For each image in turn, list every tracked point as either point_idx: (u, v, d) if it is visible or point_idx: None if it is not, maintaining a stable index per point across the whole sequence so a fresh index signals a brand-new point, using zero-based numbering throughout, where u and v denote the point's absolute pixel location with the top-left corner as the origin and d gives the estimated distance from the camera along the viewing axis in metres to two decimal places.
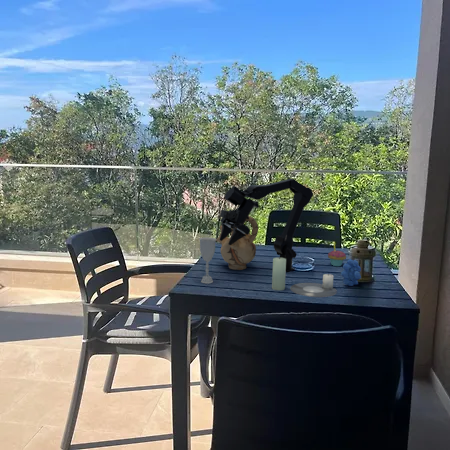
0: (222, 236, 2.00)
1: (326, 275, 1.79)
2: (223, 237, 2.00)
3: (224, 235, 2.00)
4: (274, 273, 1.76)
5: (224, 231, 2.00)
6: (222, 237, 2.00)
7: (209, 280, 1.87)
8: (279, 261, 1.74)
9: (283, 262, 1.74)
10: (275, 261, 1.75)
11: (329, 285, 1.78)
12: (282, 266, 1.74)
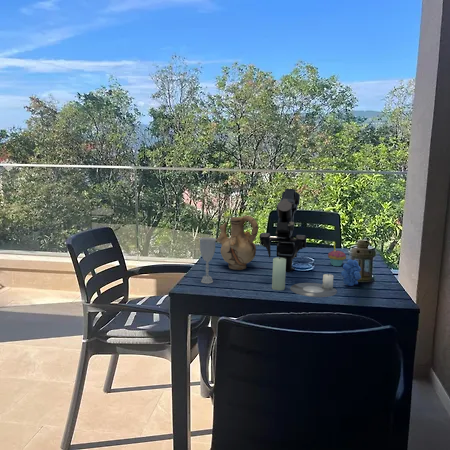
0: (270, 252, 1.84)
1: (326, 275, 1.80)
2: (270, 253, 1.84)
3: (270, 251, 1.85)
4: (274, 273, 1.76)
5: None
6: (270, 253, 1.84)
7: (209, 280, 1.87)
8: (279, 261, 1.74)
9: (283, 262, 1.74)
10: (275, 261, 1.75)
11: (329, 285, 1.78)
12: (282, 266, 1.74)
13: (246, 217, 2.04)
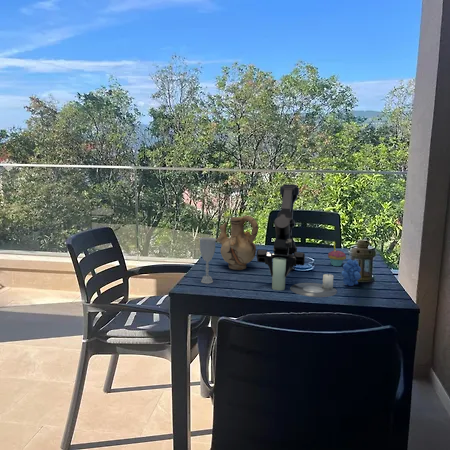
0: (272, 270, 1.77)
1: (326, 275, 1.79)
2: (272, 272, 1.78)
3: (272, 269, 1.78)
4: (274, 273, 1.76)
5: (272, 265, 1.79)
6: (272, 272, 1.77)
7: (209, 280, 1.87)
8: (279, 261, 1.74)
9: (283, 262, 1.74)
10: (275, 261, 1.75)
11: (329, 285, 1.78)
12: (282, 266, 1.74)
13: (246, 217, 2.04)
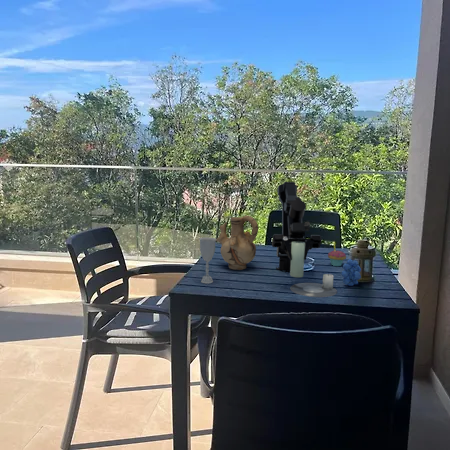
0: None
1: (326, 275, 1.80)
2: None
3: None
4: (294, 257, 1.73)
5: None
6: None
7: (209, 280, 1.87)
8: (299, 244, 1.72)
9: (303, 245, 1.72)
10: (295, 245, 1.72)
11: (329, 285, 1.78)
12: (302, 249, 1.72)
13: (246, 217, 2.04)
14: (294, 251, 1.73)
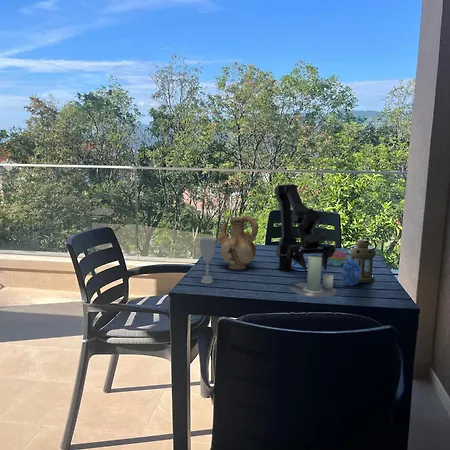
0: None
1: (326, 275, 1.80)
2: None
3: None
4: (312, 271, 1.74)
5: None
6: None
7: (209, 280, 1.87)
8: (318, 259, 1.73)
9: (321, 259, 1.74)
10: (313, 259, 1.73)
11: (329, 285, 1.78)
12: (320, 263, 1.74)
13: (246, 217, 2.04)
14: (312, 266, 1.74)
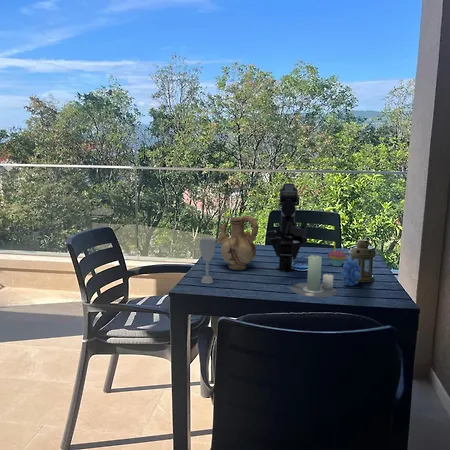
0: None
1: (326, 275, 1.80)
2: None
3: None
4: (312, 271, 1.74)
5: None
6: None
7: (209, 280, 1.87)
8: (318, 259, 1.73)
9: (321, 259, 1.74)
10: (313, 259, 1.73)
11: (329, 285, 1.78)
12: (320, 263, 1.74)
13: (246, 217, 2.04)
14: (312, 265, 1.74)
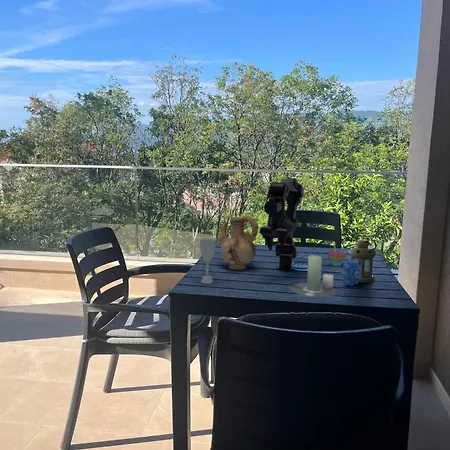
0: None
1: (326, 275, 1.80)
2: None
3: None
4: (312, 271, 1.74)
5: None
6: None
7: (209, 280, 1.87)
8: (318, 259, 1.73)
9: (321, 259, 1.74)
10: (313, 259, 1.73)
11: (329, 285, 1.78)
12: (320, 263, 1.74)
13: (246, 217, 2.04)
14: (312, 265, 1.74)
